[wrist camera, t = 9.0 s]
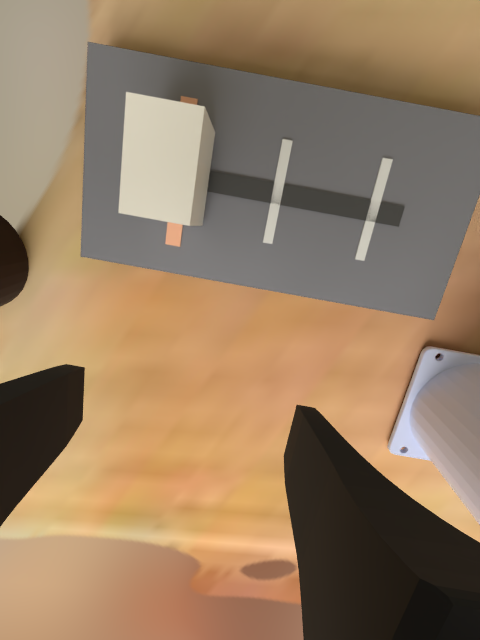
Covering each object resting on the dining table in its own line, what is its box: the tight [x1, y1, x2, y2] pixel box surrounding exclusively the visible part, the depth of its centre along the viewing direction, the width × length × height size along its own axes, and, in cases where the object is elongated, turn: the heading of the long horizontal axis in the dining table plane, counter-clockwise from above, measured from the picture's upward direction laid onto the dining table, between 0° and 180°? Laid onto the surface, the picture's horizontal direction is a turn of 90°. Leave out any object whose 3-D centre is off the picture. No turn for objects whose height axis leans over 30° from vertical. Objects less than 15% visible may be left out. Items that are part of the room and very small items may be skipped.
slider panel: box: [81, 42, 480, 320], centre depth 18 cm, size 20×10×2 cm, turn 80°
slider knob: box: [118, 92, 215, 226], centre depth 15 cm, size 3×4×4 cm
